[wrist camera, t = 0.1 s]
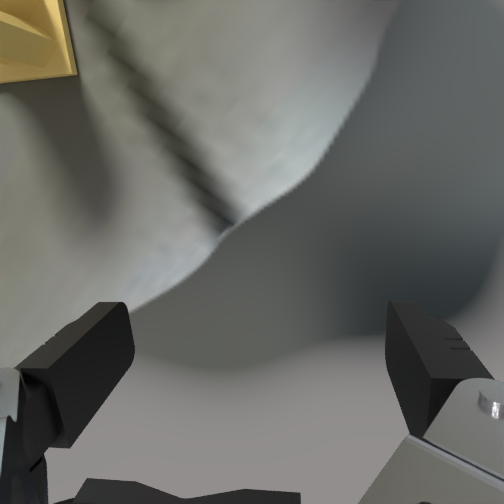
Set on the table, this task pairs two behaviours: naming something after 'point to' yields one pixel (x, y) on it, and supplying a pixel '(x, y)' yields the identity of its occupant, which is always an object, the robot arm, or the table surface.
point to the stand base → (53, 26)
